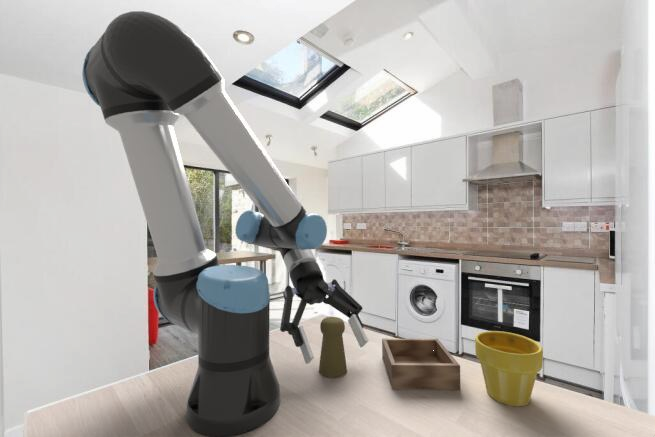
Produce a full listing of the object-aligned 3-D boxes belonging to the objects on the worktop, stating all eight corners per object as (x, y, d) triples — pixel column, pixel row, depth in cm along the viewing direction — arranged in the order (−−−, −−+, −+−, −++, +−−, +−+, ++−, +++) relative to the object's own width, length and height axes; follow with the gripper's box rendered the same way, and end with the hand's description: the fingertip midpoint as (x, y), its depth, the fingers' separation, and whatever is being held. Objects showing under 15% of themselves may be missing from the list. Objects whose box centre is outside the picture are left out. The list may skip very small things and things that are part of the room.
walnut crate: (392, 389, 56) (391, 364, 56) (382, 358, 69) (382, 338, 69) (460, 389, 56) (460, 365, 56) (438, 358, 68) (437, 338, 69)
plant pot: (542, 423, 47) (541, 359, 47) (470, 399, 53) (469, 343, 53) (544, 392, 55) (543, 338, 55) (481, 375, 61) (481, 326, 61)
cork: (326, 361, 68) (325, 312, 68) (351, 367, 65) (351, 316, 65) (313, 374, 62) (313, 320, 62) (340, 380, 60) (339, 325, 60)
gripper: (338, 273, 83) (376, 346, 71) (250, 284, 70) (277, 377, 57) (350, 255, 79) (392, 330, 66) (258, 264, 65) (289, 359, 53)
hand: (339, 352), depth 62 cm, fingers open, 13 cm apart
